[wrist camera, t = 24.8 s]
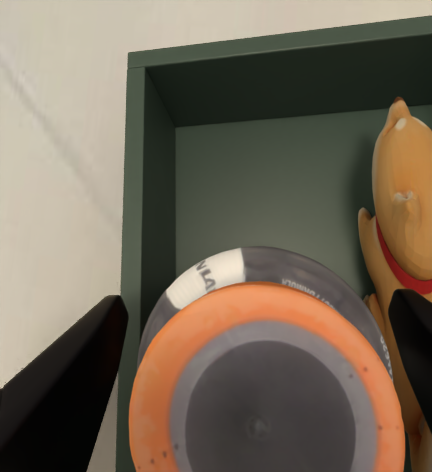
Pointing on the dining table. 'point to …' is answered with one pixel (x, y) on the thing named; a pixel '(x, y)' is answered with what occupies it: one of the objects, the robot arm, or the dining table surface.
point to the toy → (401, 247)
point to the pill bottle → (264, 373)
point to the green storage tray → (257, 157)
